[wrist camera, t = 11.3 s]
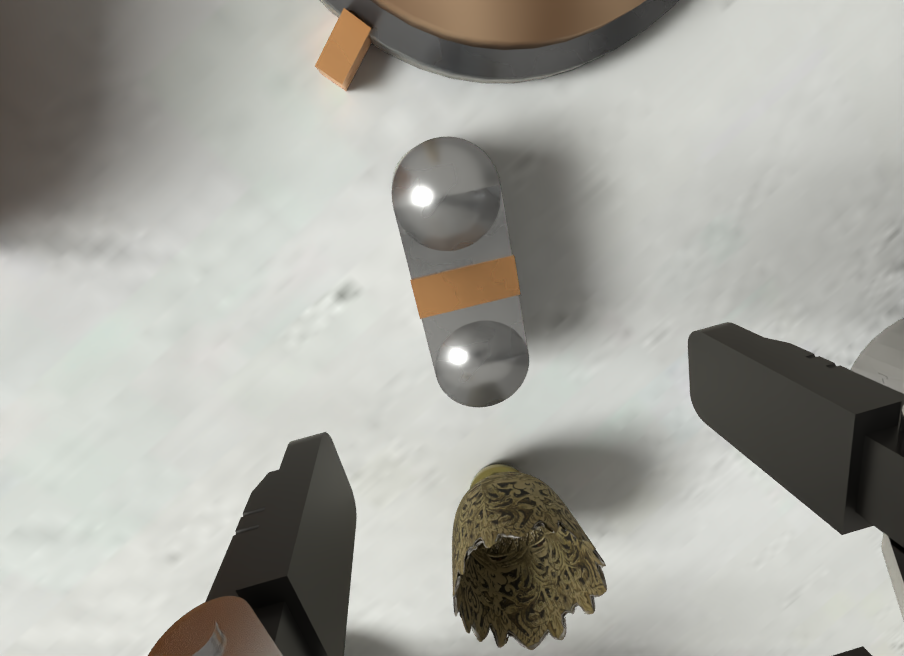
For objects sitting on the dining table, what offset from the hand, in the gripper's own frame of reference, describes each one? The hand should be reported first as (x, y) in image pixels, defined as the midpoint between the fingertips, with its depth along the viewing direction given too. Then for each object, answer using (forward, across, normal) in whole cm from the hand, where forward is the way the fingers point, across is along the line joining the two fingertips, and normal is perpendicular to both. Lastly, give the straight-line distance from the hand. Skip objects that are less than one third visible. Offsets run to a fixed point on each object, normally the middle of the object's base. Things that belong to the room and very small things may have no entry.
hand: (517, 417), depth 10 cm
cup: (+15, 0, +14) cm, 21 cm away
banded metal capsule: (+15, 0, -1) cm, 15 cm away
